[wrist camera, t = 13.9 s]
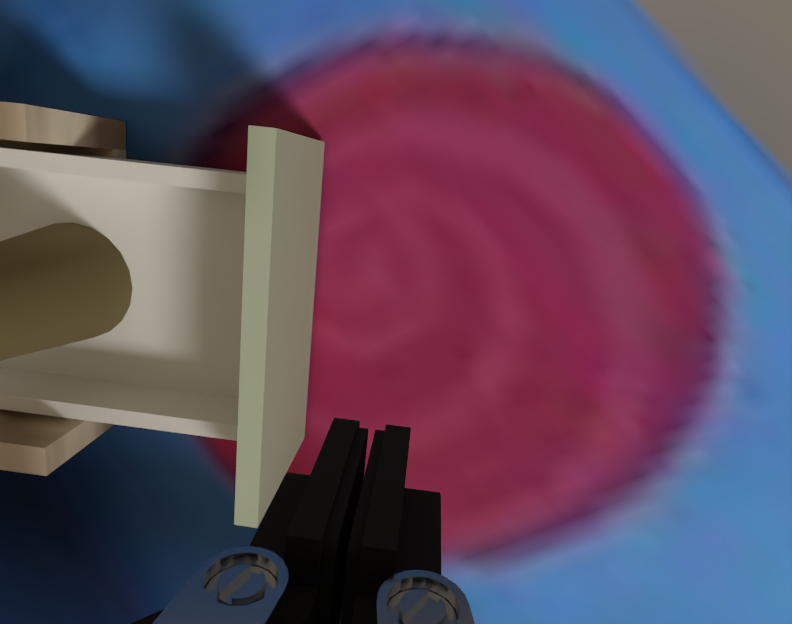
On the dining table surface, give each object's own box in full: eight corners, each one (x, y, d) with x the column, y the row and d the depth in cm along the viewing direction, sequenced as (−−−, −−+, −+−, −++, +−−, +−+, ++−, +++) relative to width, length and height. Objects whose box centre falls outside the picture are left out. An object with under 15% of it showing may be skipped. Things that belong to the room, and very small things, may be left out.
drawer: (324, 142, 27) (276, 128, 19) (304, 437, 31) (257, 528, 23) (-34, 104, 28) (-222, 76, 20) (-10, 396, 32) (-159, 468, 24)
